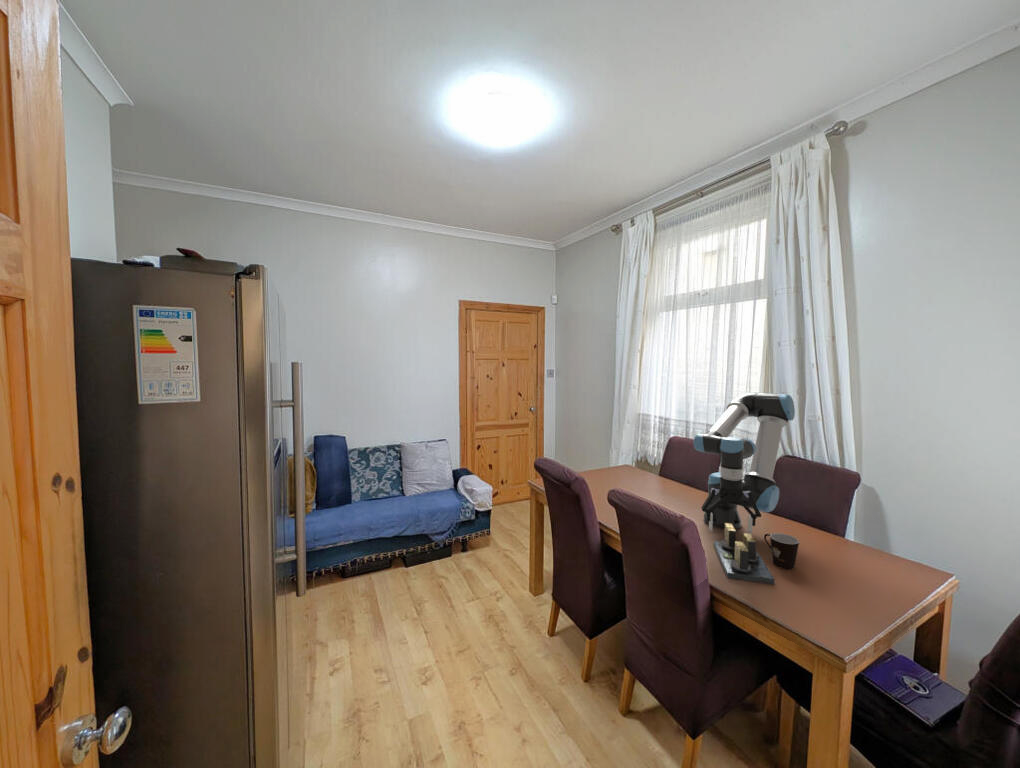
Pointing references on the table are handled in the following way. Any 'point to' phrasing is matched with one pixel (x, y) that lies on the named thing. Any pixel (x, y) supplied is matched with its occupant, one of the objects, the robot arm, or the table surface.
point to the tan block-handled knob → (729, 537)
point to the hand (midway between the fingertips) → (730, 531)
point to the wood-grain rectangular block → (750, 548)
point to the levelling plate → (756, 575)
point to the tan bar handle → (741, 558)
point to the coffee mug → (783, 550)
